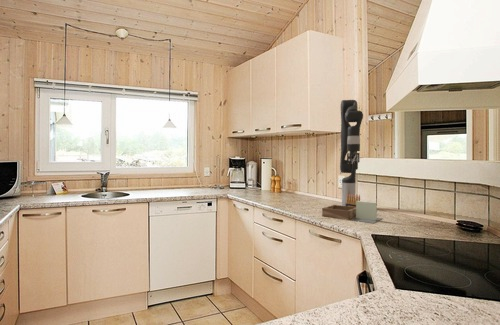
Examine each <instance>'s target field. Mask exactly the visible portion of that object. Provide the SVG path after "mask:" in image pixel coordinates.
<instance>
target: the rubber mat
mask: <svg viewBox="0 0 500 325" xmlns="http://www.w3.org/2000/svg"><path fill="white" fill-rule="evenodd" d="M351 220H352V221H353V222H358V221H359V222H360V223H367V224H372V225H373V224H375V223H377V222H379V221H381V220H383V218H382V217H377V220H375V221H374V220H366V219H359V218H356V217H354V218H352V219H350V221H351ZM352 221H351V222H352Z"/></svg>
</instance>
